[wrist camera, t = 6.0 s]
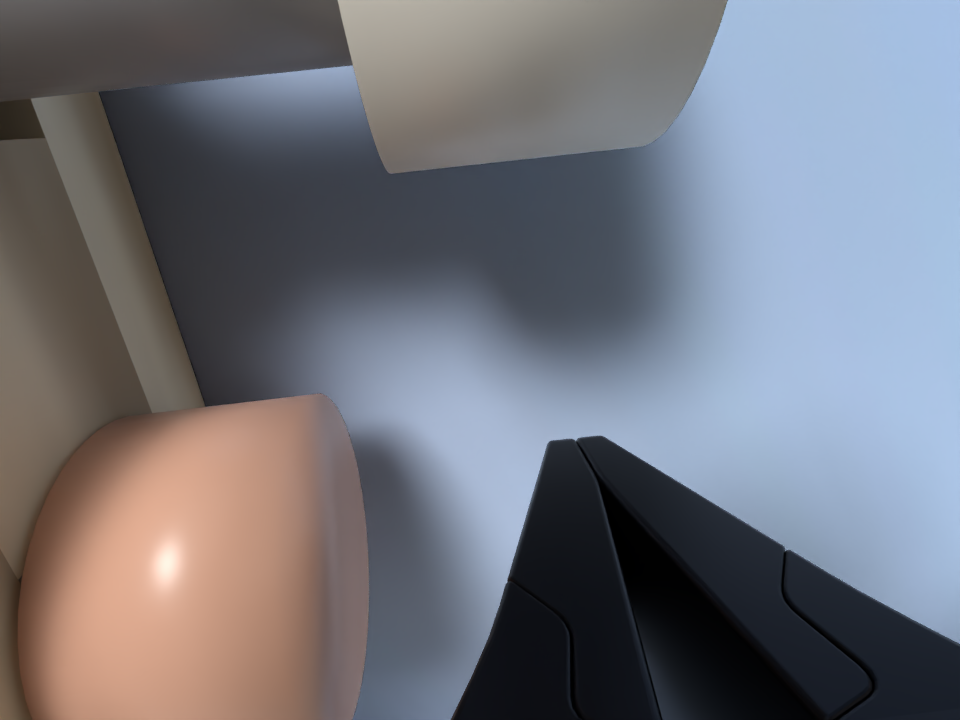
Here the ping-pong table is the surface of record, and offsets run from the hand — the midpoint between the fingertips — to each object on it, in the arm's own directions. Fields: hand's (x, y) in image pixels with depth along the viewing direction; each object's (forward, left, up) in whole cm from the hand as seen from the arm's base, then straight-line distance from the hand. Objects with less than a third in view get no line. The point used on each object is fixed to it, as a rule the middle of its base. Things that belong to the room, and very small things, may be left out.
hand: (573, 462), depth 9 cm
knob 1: (+7, 0, -1) cm, 7 cm away
